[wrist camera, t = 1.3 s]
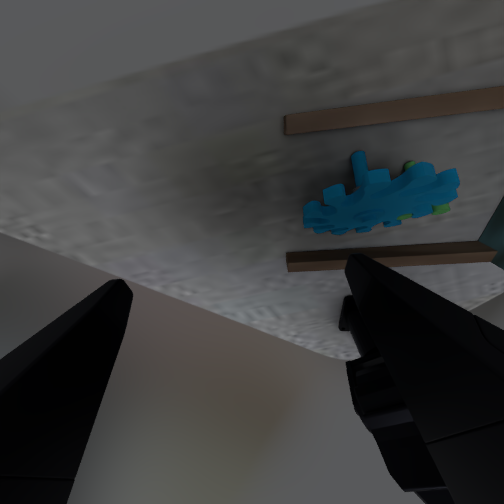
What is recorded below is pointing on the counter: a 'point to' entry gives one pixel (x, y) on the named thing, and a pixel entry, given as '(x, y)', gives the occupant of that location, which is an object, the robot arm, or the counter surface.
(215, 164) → the counter surface
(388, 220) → the blue irregular piece
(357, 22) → the counter surface
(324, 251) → the guide channel
